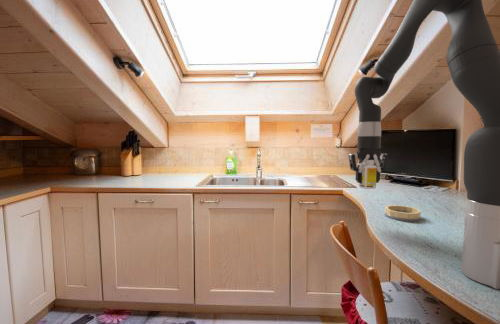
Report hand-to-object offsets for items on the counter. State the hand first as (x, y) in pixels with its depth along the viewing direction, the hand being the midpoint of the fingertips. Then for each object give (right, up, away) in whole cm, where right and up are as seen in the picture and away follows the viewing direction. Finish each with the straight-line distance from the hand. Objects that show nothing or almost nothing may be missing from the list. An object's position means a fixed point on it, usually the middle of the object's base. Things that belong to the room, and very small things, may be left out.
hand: (367, 182), depth 94 cm
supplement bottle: (0, -2, 0) cm, 2 cm away
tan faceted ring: (+17, -14, +9) cm, 24 cm away
